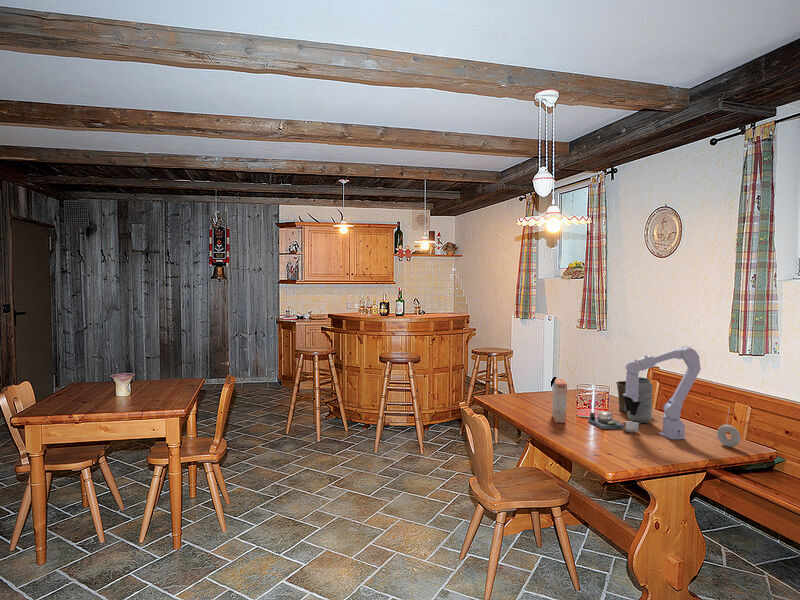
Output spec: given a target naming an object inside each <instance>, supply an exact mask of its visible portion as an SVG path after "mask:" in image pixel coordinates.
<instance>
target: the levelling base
mask: <svg viewBox="0 0 800 600" xmlns="http://www.w3.org/2000/svg"><path fill="white" fill-rule="evenodd" d="M613 416H614V414H613V413H612V412H610V411H598V412H597V417H596V413H595V412H590V413H589V417H588V418H587V422H588V423H590V424H591V423H592V424H591V425H593V424H594V425H593V426H595V425H596V426H595V427H597V426H598V427H597V428H599V429H600V428H601V429H600V430H602V429H607V430H624V429H623V422H622V423H621V422H620V421H618V420H615V419H613Z"/></svg>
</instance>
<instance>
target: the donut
mask: <svg viewBox="0 0 800 600" xmlns="http://www.w3.org/2000/svg"><path fill="white" fill-rule="evenodd" d="M727 433H730V437H731V438H730V439H729V438H728V436H726V434H727ZM716 435H717V436H716V437H717V438H718V440H719V442H720V443H721V444H722V445H724V446H725V447H727V448H735V447H736V446H738V445H739V444H740V442H741V434H740V432H739V430H738V429H737V428H736V427H734V426H733V425H731V424H723V425H721V426H719V428H718V429H717V433H716Z"/></svg>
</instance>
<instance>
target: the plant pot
mask: <svg viewBox="0 0 800 600" xmlns="http://www.w3.org/2000/svg"><path fill="white" fill-rule="evenodd" d="M615 383H616V387H617V394H618V410H619V411H620V412H622V413H626V414H627V413H628V411H627V409H626V403H625V400H624V398H623V394H625V393H626V380H618V381H616V382H615Z"/></svg>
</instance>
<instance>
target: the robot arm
mask: <svg viewBox="0 0 800 600" xmlns="http://www.w3.org/2000/svg"><path fill="white" fill-rule="evenodd" d="M672 359H677V360H683V361H684V364H685V365H686V367H687V369H686V371H685V372H684V374H683V375H682V378H681V380H680V382H679V383H678V385H677V387H676V389H675V391H674V392H673V395H672V396H671V397H670V398H669V400H668V401H667V402H665V403H664V404H663V407H662V409H663V412H664V414H663V415H662V432H658V434H659V435H661V436H663V437H665V438H667V439H670V440H686V439H687V438H686V437H685V432H686V431H685V430H686V429H685V428H686V426H685V424H684V422H683V421H682V420H681V415H682V412H681V411H682V409H683V404H684V401H685V400H686V397H687V396H688V394H689V391H690V390H691V388H692V387H693V385H694V382H695V381H696V379H697V378H698V376H699V373H700V371H701V363H700V362H701V361H700V355H699V353H698V352H697V351H696V350H695V349H694V348H692V347H690V346H681V347H677V348H673V349H670V350H668V351H665V352H663V353H660V354H657V355H655V356H652V355H648V354H646V355H644V357H641V358H638V359H636V358H634V360H630V361H628V362H627V363H626V365H625V369H626V374H625V381H626V393H625V394H623V398H624V400H625V403H626V409H627V411H630V413H631V415H636V412H637V409H638V406H639V405H640V403H641V402H640V401H638V397H639V395H638V386H639V373H640V371H645V370H648V369H651V368H654V367H655V366H656V365H657V364H658V363H662V362H665V361H668V360H672Z"/></svg>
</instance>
